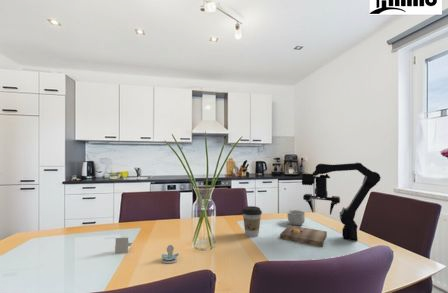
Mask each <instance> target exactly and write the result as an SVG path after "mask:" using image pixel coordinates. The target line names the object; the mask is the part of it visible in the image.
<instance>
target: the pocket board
mask: <svg viewBox="0 0 448 293" xmlns="http://www.w3.org/2000/svg"><path fill="white" fill-rule="evenodd" d="M294 229H299V230H300V234H298V233H293V230H294ZM327 234H328V231H326V230H322V229H321V230H320V229H315V228H314V229H313V228H309V227H302V226H295V225H289V224H288V225H287V226H286V228H285V229H284V230H283V231H281V233H280V234H279V239H280V240H284V241H289V242H293V243H299V244H304V245H307V246H308V245H309V246H313V247H319V248H323V247H324V244H325V242H326V238H327V236H328V235H327Z"/></svg>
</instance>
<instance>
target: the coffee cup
mask: <svg viewBox="0 0 448 293" xmlns="http://www.w3.org/2000/svg"><path fill="white" fill-rule="evenodd" d="M241 213H242V217H243V226H244V232H245V236H246V237H248V236H249V238H257V237H258V236H259V234H260V225H261V220H262V219H261V218H262V217H261V216H262V214H263V211H262V210H261V208H260V207H259V206H252V205H251V206H250V205H249V206H248V205H247V206H245V207H243V209H242V210H241Z"/></svg>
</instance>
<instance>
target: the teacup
mask: <svg viewBox="0 0 448 293" xmlns="http://www.w3.org/2000/svg"><path fill="white" fill-rule="evenodd" d="M286 213H287V221H288V222H289V224H291V226H297V227H301V226H302V225H303V224H304V223H305V221H306V220H305V217H306V215H305V214H306V213H305V211H302V210H299V209H297V210H296V209H289V210H287V212H286Z"/></svg>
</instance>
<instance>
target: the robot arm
mask: <svg viewBox="0 0 448 293" xmlns="http://www.w3.org/2000/svg"><path fill="white" fill-rule="evenodd" d="M344 171H357V172H359V173H360V174H362V175H363V176H364V177H363V180H362V182H361V184H362V185H361V186H360V188H359V189H358V190H357V192H356V194H355V195H354V196H353V199H352V200H351V202H350V204H348V206H347V207H346V208H345V207H342V208H341V211H340V212H339V220H340V222H341V223H342V224H343V227H342V230H341V231H342V239H343V240H347V241H353V242H358V240H359V239H358V227H359V226H358V225H357V222H356V221H355V217H356V213H357V211H358V209H359V207H361V204H362V202H363V201H364V200H365V198H366V196H367V195H368V193H369V191H371V189H373V187H375V186H377V184H379V182H380V181H381V178H382V177H381V175H380V174H379V173H378V172H377V171H372V170H371V169H369V168H367V167H366V166H364V165H363V164H362V162H353V163H352V162H351V163H350V162H349V163H337V164H329V163H317V165H316V166H315V170H314V171H313V172H312V173H305V172H303V173H302V174H301V175H302V176H301V184H302V186H313V185H315V188H314V194H315V195H313V194H312V193H305V194H303V197H302V198H303V200H304V201H305V202H307V203H308V205H309V208H310V210H311V212H312V213H313V214H314V203H313V200H320V201H321V200H322V201H328V202H329V201H331V202H330V208H329V215H332V213H333V210H334V206H335V205H336V206H337V205H338V204H340V203H341V197H340V196H336V195H335V196H334V195H332V196H331V197H330V196H328V195H329V194H328V193H329V192H328V185H327V182H328V181H327V180H328V179H331V177H330V175H329V174H330V173H332V172H344ZM328 173H329V174H328Z"/></svg>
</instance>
